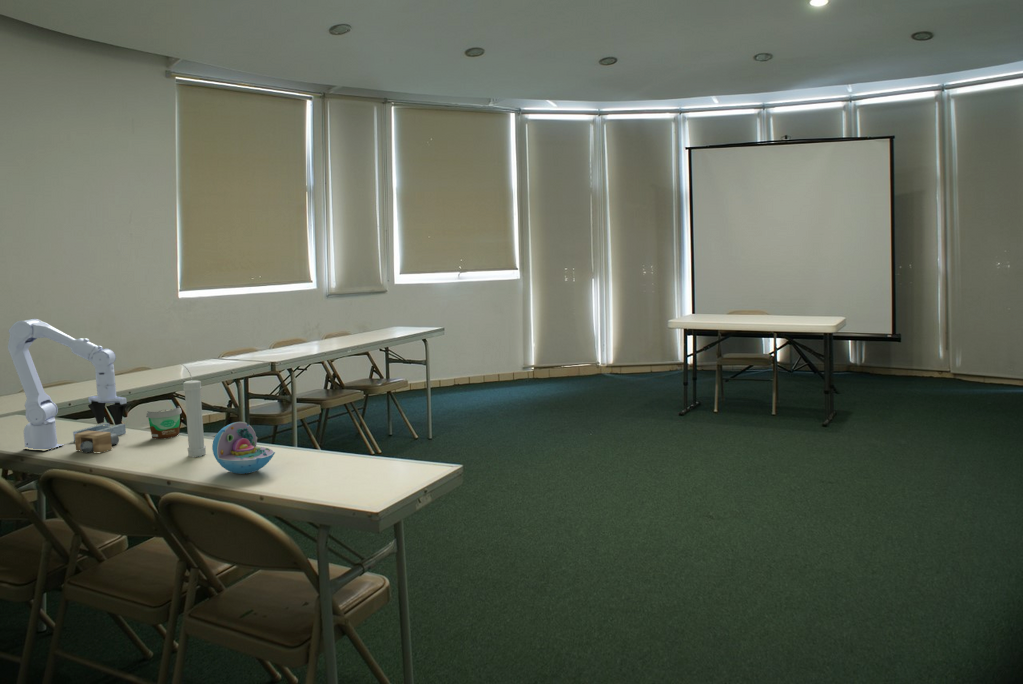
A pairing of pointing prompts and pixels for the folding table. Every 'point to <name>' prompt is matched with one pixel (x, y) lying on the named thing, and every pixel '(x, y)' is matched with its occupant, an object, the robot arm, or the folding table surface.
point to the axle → (88, 445)
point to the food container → (164, 423)
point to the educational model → (240, 449)
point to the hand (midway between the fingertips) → (109, 423)
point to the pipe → (194, 417)
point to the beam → (94, 440)
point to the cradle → (105, 429)
